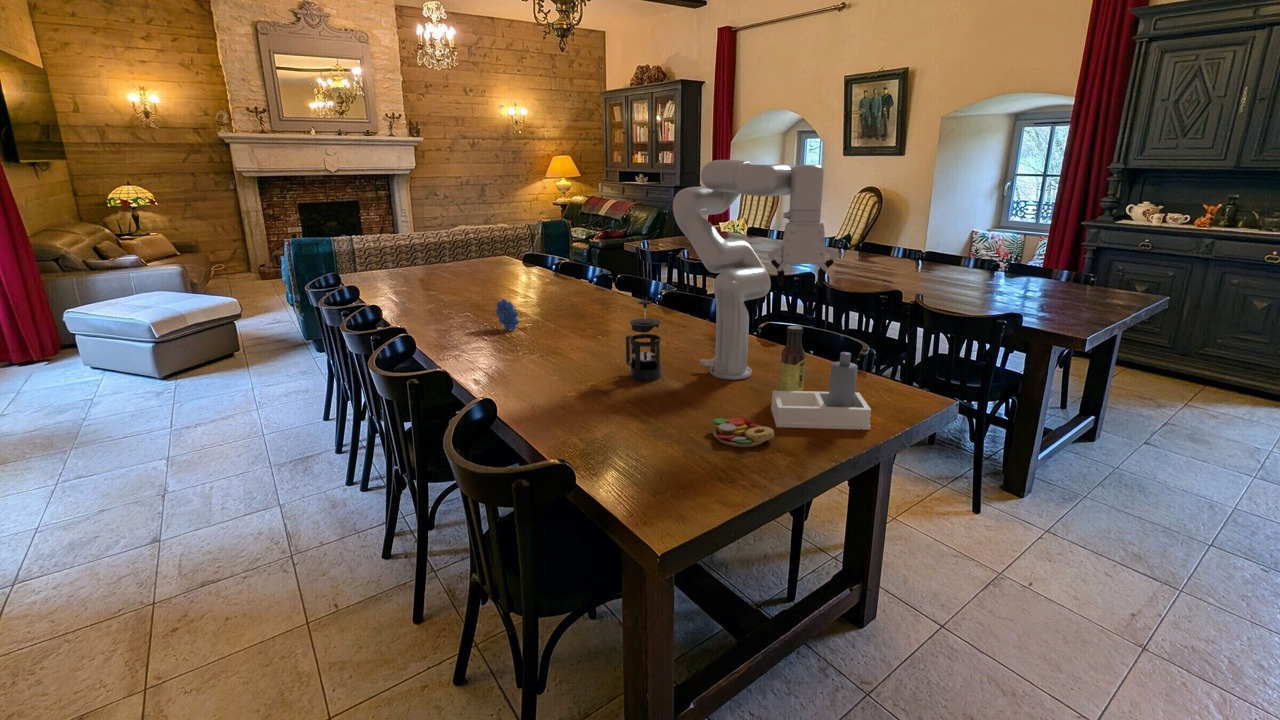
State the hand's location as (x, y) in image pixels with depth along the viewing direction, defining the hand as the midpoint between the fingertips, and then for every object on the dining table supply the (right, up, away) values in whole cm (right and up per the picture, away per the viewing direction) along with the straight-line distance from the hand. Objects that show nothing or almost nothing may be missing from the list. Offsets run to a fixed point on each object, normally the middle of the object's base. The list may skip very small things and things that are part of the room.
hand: (800, 285), depth 155 cm
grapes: (-93, -8, +80) cm, 123 cm away
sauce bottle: (0, -30, +9) cm, 31 cm away
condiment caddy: (+3, -33, -4) cm, 34 cm away
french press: (-40, -24, +28) cm, 54 cm away
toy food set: (-18, -37, -13) cm, 43 cm away
